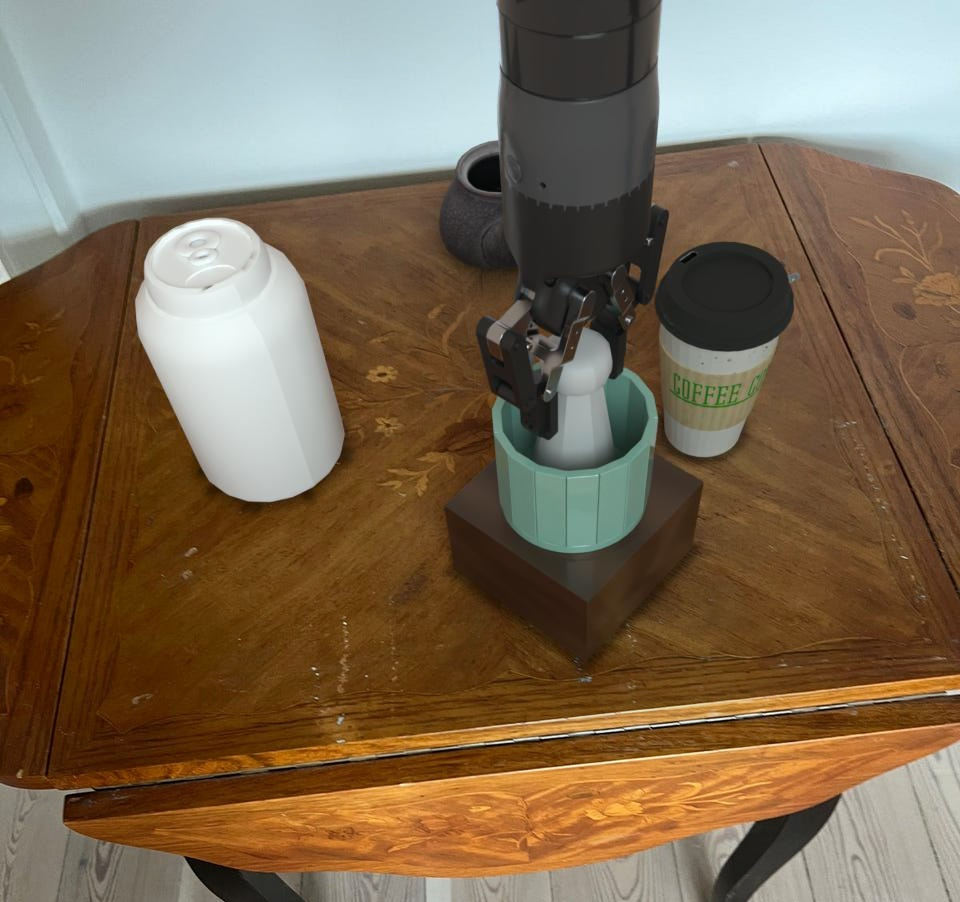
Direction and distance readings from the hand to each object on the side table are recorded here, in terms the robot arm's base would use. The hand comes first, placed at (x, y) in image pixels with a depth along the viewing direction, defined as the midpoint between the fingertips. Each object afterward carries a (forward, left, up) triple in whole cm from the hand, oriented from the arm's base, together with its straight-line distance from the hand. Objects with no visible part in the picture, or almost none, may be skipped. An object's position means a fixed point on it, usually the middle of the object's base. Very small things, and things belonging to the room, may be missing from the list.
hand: (574, 399), depth 62 cm
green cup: (0, 0, -9) cm, 9 cm away
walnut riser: (0, 0, -17) cm, 17 cm away
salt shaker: (0, 0, -9) cm, 9 cm away
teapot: (-27, -26, -17) cm, 41 cm away
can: (+7, -27, -17) cm, 33 cm away
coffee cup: (-17, 0, -17) cm, 24 cm away
